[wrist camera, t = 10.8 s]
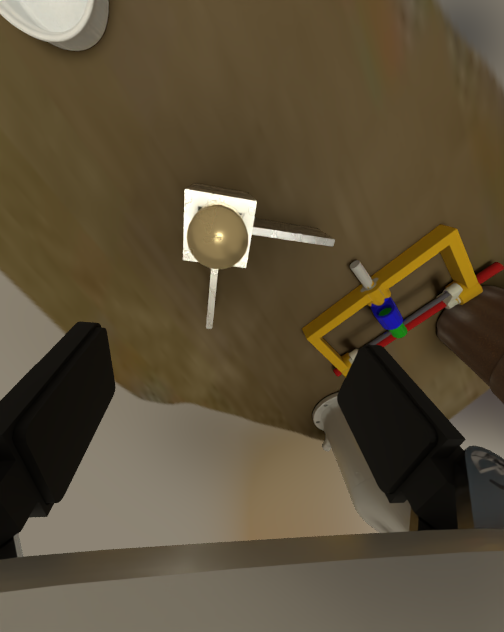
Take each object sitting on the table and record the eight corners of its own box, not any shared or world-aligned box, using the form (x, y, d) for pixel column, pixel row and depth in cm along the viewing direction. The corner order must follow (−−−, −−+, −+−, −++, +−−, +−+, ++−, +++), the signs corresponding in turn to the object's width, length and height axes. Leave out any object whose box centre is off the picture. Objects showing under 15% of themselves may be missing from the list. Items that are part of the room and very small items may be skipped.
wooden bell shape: (237, 241, 32) (243, 272, 23) (196, 235, 31) (185, 265, 22) (243, 198, 29) (252, 212, 20) (199, 190, 28) (187, 202, 19)
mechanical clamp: (531, 285, 35) (350, 396, 43) (490, 269, 40) (336, 371, 49) (503, 175, 27) (287, 338, 35) (456, 173, 32) (279, 315, 40)
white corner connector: (292, 314, 40) (309, 349, 32) (189, 304, 37) (180, 340, 29) (324, 206, 32) (356, 218, 24) (194, 182, 29) (184, 188, 21)
